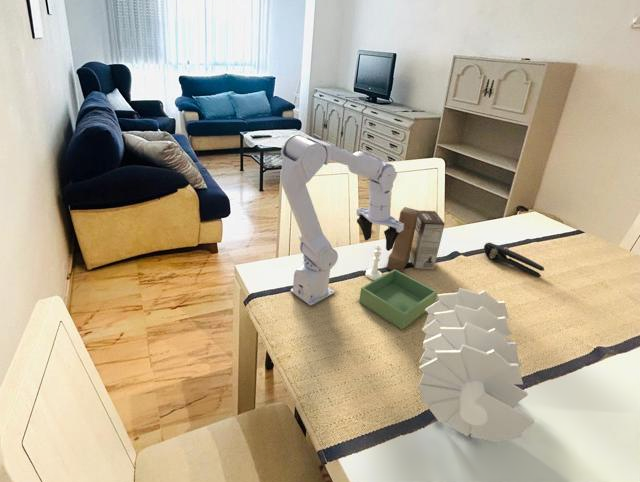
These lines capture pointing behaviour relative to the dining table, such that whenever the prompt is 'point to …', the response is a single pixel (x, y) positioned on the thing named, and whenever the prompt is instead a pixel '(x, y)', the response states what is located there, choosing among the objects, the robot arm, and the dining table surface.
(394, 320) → the basket
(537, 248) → the dining table surface
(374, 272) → the chess piece
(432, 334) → the spiral staircase
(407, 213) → the wooden block
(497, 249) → the can opener
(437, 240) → the coffee box
